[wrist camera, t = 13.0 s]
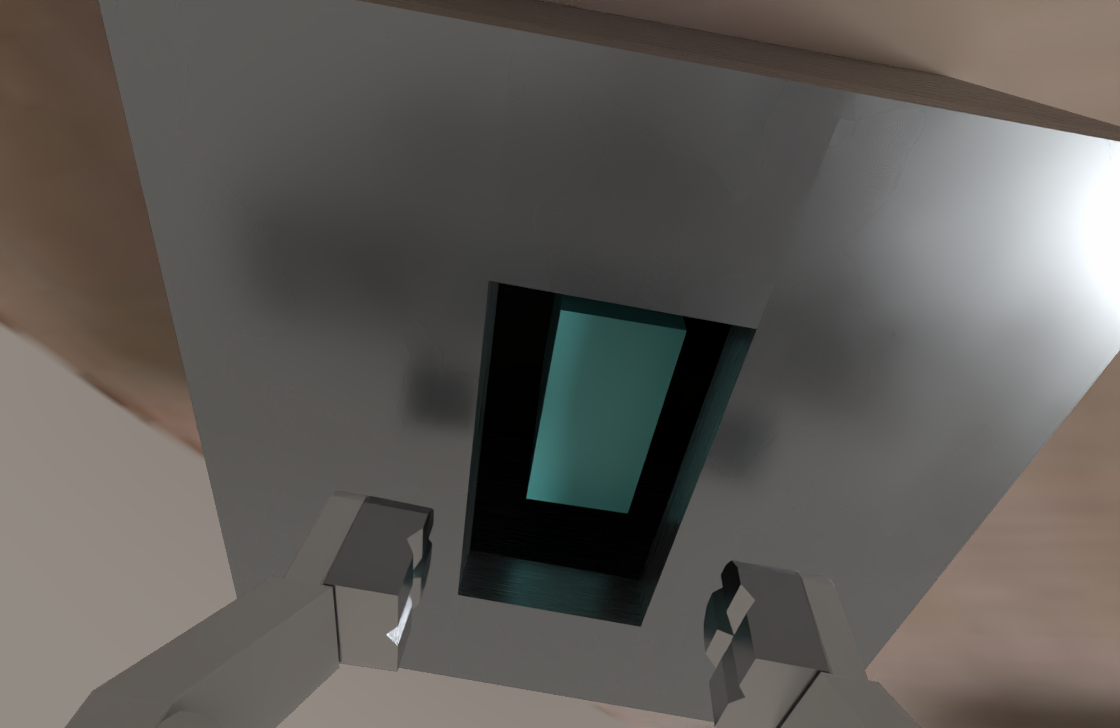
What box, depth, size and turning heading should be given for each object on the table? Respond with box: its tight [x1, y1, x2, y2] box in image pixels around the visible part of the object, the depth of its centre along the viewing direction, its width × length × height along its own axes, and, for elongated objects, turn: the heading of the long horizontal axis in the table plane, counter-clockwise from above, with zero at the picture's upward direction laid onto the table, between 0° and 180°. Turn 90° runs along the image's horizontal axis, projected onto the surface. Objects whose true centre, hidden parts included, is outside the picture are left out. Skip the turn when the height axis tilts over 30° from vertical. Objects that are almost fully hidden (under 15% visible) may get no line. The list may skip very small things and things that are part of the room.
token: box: [526, 293, 687, 513], centre depth 15 cm, size 5×2×6 cm, turn 171°
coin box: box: [98, 0, 1120, 722], centre depth 14 cm, size 14×14×8 cm
